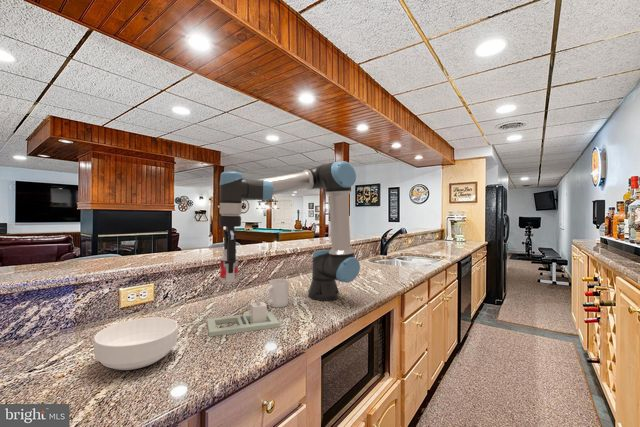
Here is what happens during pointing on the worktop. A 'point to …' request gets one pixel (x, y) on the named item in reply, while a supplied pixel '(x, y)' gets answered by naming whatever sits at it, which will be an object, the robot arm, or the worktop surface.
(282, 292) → the mug
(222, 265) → the pill bottle
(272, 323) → the faceplate
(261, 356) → the worktop surface
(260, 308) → the block
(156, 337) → the bowl
